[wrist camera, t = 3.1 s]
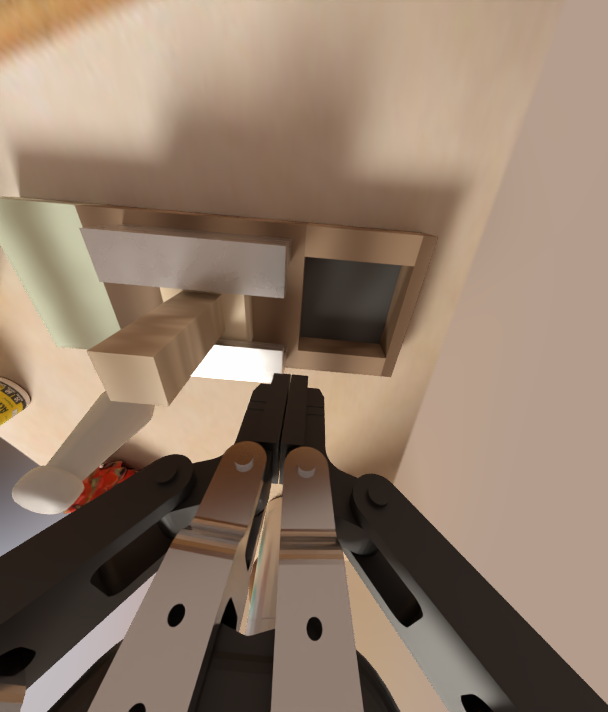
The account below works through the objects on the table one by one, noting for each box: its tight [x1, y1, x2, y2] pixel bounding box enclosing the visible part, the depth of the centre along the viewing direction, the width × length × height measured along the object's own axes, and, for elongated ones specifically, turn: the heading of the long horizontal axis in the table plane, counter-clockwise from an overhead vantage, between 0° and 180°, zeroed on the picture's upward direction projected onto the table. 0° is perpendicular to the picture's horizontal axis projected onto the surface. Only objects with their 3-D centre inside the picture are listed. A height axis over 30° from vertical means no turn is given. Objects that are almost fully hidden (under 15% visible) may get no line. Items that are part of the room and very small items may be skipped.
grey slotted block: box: [79, 224, 292, 383], centre depth 18 cm, size 12×10×4 cm
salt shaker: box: [12, 391, 155, 514], centre depth 24 cm, size 6×6×13 cm
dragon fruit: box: [63, 461, 138, 514], centre depth 36 cm, size 8×8×12 cm
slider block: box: [87, 287, 254, 406], centre depth 15 cm, size 6×6×10 cm
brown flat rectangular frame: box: [0, 197, 438, 377], centre depth 21 cm, size 32×12×3 cm, turn 86°
